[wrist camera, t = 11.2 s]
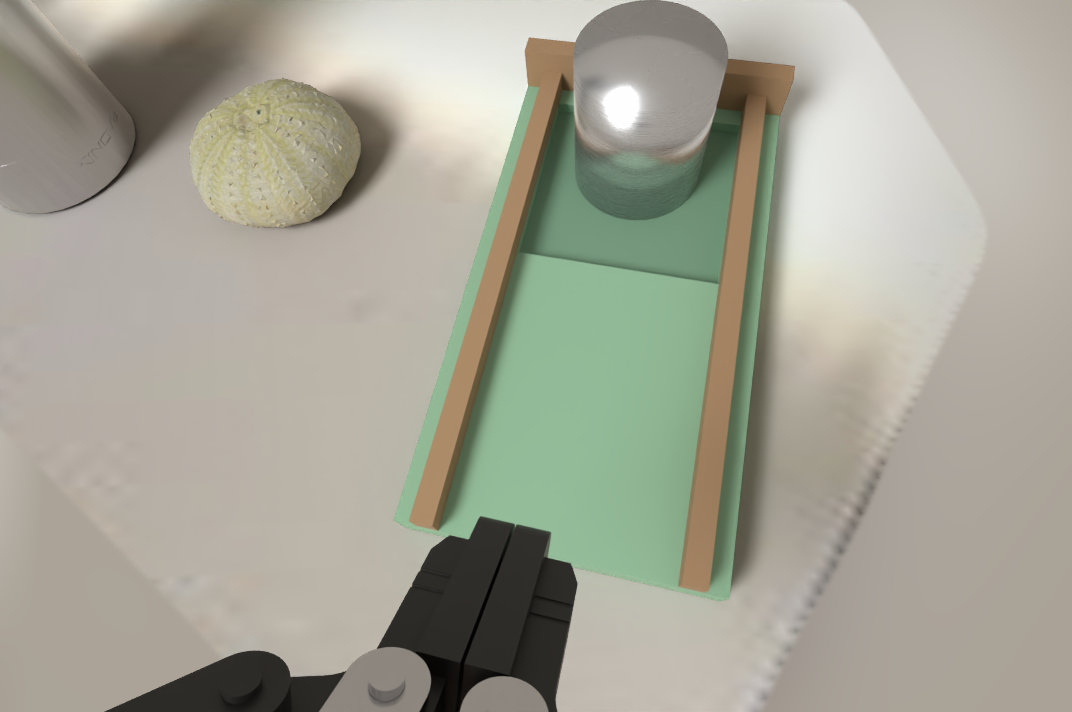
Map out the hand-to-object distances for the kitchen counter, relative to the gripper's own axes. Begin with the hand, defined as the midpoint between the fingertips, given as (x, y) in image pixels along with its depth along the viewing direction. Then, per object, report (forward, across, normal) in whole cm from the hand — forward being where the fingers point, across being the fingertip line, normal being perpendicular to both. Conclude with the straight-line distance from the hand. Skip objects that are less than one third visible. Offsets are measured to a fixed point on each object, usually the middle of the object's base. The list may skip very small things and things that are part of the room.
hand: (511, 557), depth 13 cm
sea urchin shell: (+25, +20, -2) cm, 32 cm away
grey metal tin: (+26, 0, -5) cm, 26 cm away
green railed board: (+21, 0, +1) cm, 21 cm away
